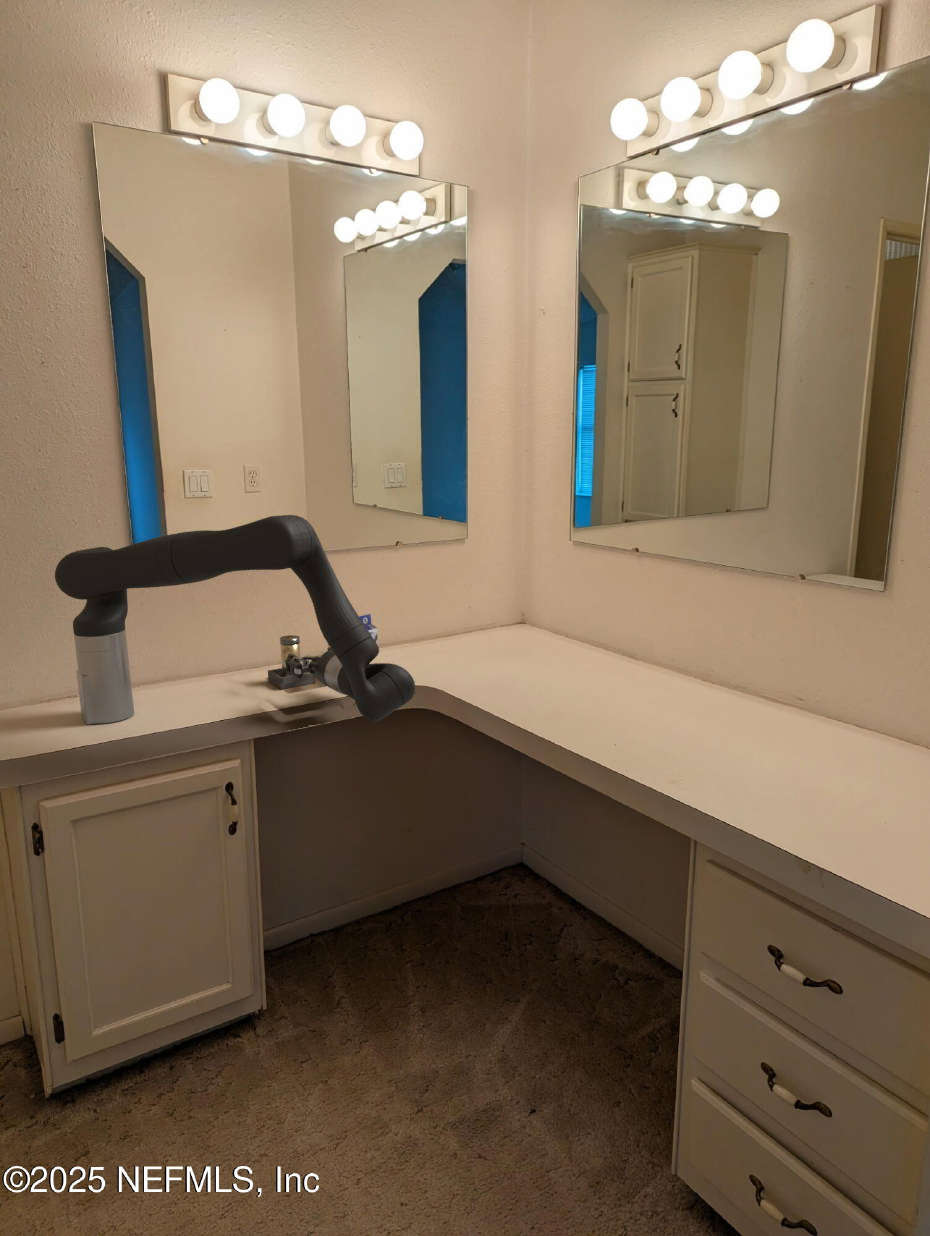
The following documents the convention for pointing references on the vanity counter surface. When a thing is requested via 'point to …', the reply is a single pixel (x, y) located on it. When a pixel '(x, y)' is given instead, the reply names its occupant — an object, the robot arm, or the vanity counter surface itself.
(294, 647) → the billet
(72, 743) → the vanity counter surface
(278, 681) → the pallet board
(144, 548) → the robot arm
